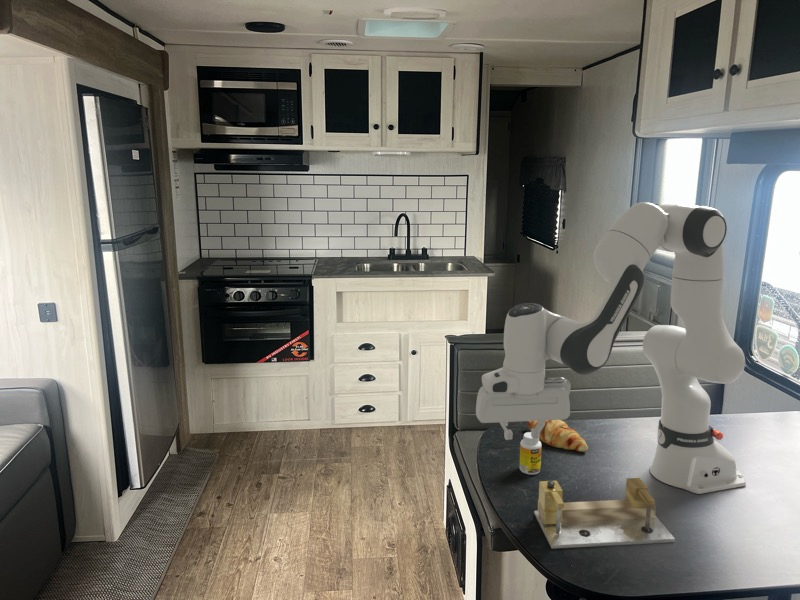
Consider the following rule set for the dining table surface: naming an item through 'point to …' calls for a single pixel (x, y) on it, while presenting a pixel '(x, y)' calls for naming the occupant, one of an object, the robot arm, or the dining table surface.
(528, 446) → the supplement bottle
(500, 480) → the dining table surface
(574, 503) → the trammel beam
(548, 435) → the croissant
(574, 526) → the flange plate
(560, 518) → the sliding leg
